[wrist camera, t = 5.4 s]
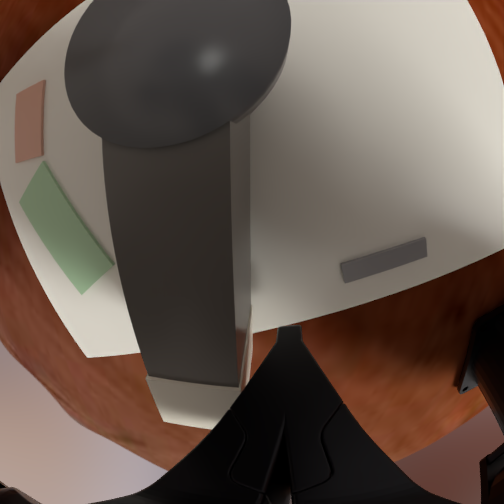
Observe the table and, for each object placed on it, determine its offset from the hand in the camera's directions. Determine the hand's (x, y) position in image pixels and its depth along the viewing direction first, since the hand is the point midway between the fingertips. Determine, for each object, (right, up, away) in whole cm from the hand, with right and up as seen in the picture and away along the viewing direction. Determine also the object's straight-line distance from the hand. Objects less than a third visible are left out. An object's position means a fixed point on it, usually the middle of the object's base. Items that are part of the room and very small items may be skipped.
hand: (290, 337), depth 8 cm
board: (-2, +7, 0) cm, 7 cm away
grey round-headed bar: (-2, +4, 0) cm, 5 cm away
